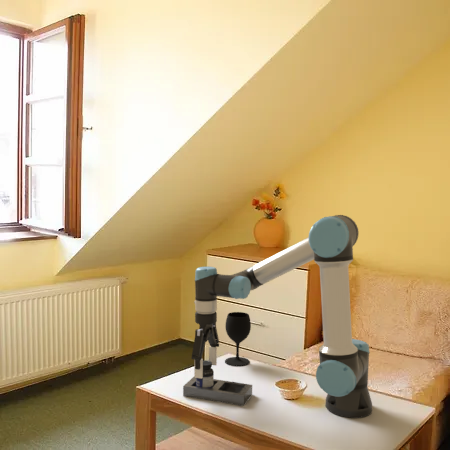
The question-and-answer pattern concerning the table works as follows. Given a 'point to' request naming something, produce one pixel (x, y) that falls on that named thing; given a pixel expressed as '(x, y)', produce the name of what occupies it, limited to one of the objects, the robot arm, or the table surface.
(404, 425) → the table surface
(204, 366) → the pill bottle
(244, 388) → the rectangular frame
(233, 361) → the wine glass
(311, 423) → the table surface
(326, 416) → the table surface
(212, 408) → the table surface
